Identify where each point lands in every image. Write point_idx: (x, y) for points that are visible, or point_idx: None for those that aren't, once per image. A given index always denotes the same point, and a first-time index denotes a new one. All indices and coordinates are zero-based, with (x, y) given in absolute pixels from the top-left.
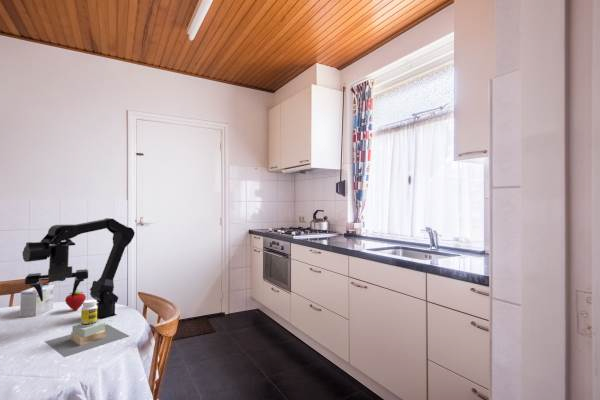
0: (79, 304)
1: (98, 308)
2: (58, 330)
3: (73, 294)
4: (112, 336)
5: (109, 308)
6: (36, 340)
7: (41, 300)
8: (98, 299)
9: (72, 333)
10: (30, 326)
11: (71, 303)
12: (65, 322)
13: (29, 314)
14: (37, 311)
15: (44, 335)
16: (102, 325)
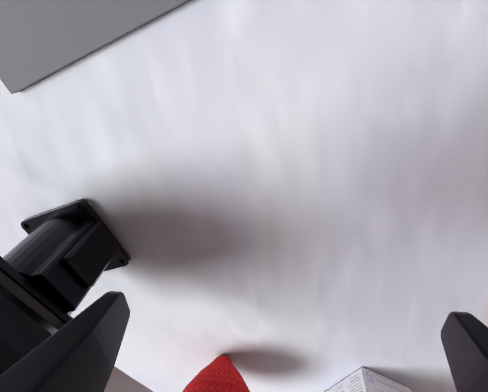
0: (201, 375)
1: (65, 257)
2: (270, 150)
3: (80, 319)
4: None
5: (16, 247)
6: (389, 21)
7: (472, 319)
8: (15, 300)
9: None
10: (391, 274)
11: (230, 387)
12: (247, 250)
13: (384, 383)
14: (359, 389)
15: (340, 101)
16: None
